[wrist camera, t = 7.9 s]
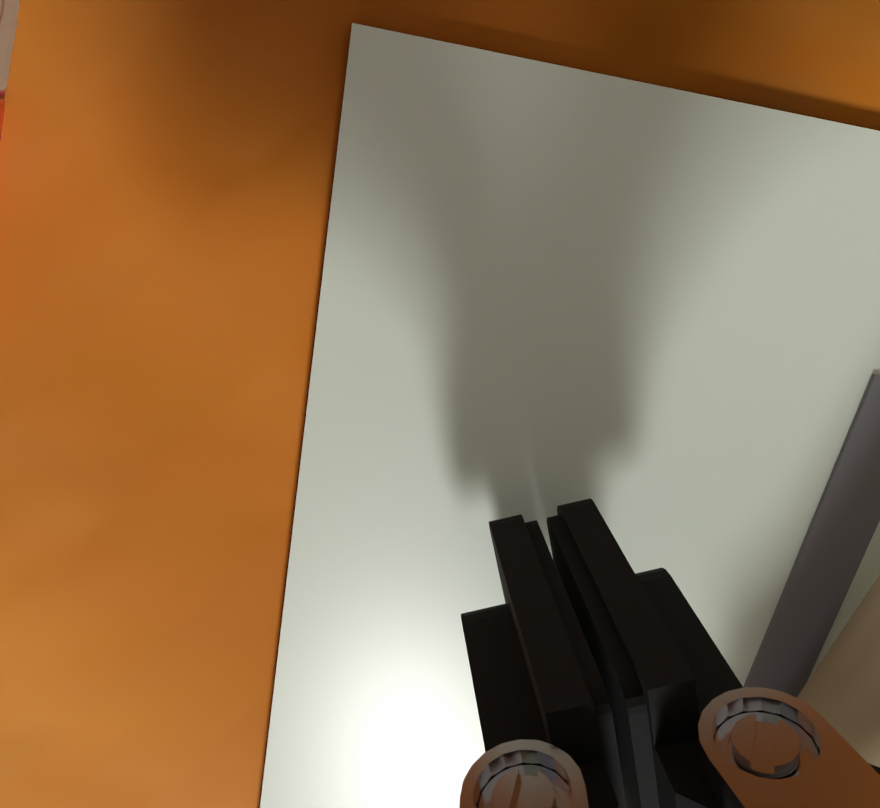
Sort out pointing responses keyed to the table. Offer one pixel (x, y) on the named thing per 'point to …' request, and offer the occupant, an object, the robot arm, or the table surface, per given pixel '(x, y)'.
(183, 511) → the table surface
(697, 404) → the card
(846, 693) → the panel
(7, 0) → the stack of blocks
